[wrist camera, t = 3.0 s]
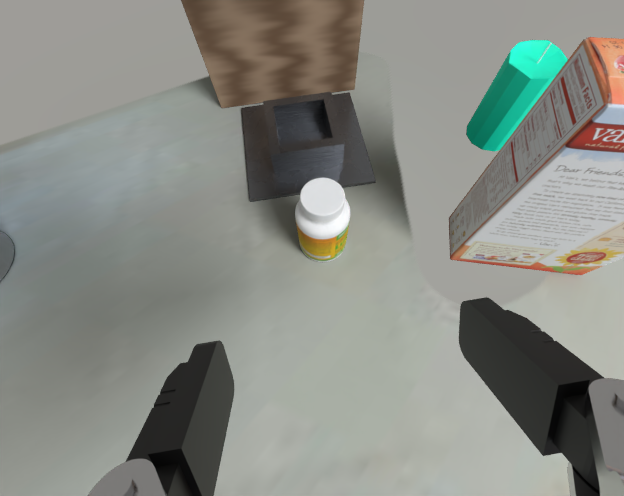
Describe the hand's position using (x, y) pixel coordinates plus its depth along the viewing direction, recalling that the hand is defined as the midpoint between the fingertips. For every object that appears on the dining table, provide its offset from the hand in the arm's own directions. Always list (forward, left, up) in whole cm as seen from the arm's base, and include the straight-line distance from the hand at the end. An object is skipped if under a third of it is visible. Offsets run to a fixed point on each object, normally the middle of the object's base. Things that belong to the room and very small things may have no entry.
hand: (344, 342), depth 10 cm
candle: (+27, +25, -22) cm, 43 cm away
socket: (+2, +28, -21) cm, 35 cm away
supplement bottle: (+2, +13, -22) cm, 25 cm away
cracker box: (+23, +9, -22) cm, 33 cm away
